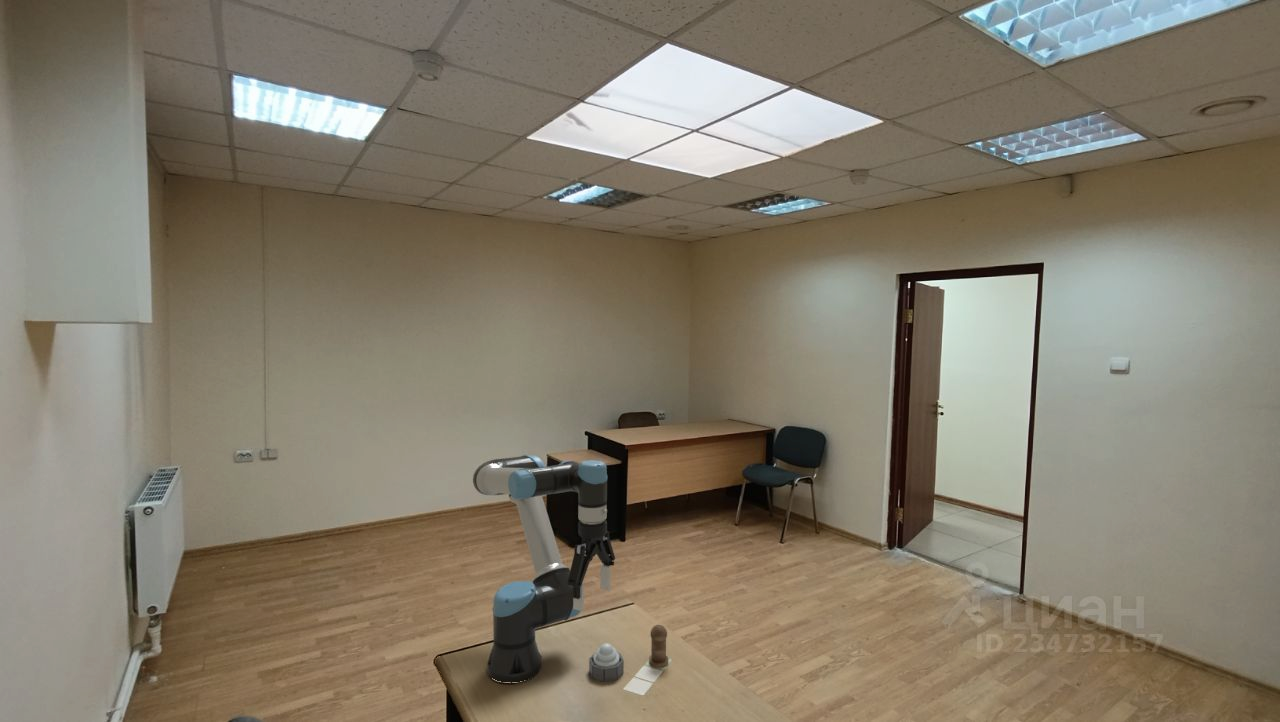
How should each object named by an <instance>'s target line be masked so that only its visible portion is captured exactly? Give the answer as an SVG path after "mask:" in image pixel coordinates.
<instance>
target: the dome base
mask: <svg viewBox="0 0 1280 722" xmlns="http://www.w3.org/2000/svg"><path fill="white" fill-rule="evenodd" d="M616 652H617V651H616ZM617 653H618V654H619V663H618V664H617V665H616V666H612V667H607V668H603V667H600V666H596V665H594V654H595V653H593V654H592V655H591V656H590V657H589V659H588V660H589V661H588V662H589V663H588V664H589V666H588V667H589V668H588V669H589V670H588V671H589V674H590V676H591V678H592V679H594V680H596V681H599V682H603V683H604V682H605V683H606V682H612V681H617V680H619V678H621V676H622V675H623V674H624V671H625V670H624V669H625V668H624V664H625V662H624V661H625V659H624V658H623V655H622V654H621V652H617Z"/></svg>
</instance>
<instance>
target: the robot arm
mask: <svg viewBox="0 0 1280 722" xmlns="http://www.w3.org/2000/svg"><path fill="white" fill-rule="evenodd" d="M607 469H608V467H607V464H606V463H605V462H604V461H602V460H595V459H590V460H583V461H581V462H578V461H575V460H570V459H569V460H568V459H567V460H563V461H561V462H559V464H555V465H550V466H549V465H548V466H546V465H545V464H544V462H543V460H542V459H541V458H540V457H539V456H538V455H537V456H536V455H525V454H523V455H521V456H514V457H505V458H503V457H502V458H495V459H490V460H488V461H486V462H483V463H482V464H481V465H479V466H478V467H477V468H476V469H475V471H474V473H473V477H472V484H473V487H474V488H475V490H476V491H477V492H478V493H480V494H482V495H484V496H502V495H508V497H509V500H510V503H513V504H515V505H516V509H517V512H518V515H519V519H520V523H521V526H522V530H523V533H524V537H525V539H526V544H527V547H528V552H529V555H530V558H531V563H532V566H533V569H534V574H535V576H534V577H533V579H532V581H529V580H517V581H511V582H509V583H507V584H505V585H502V586H501V587H500V588H499V589H498V590H497V591H496V592H495V594H494V597H493V605H492V606H493V607H492V614H493V618H492V619H493V623H492V626H493V627H492V629H493V630H492V631H493V645H492V647H491V651H490V653H489V657H488V660H487V665H486V666H487V667H486V670H487V672H488V674H489V676H490V677H491V678H493V679H495V680H497V681H501V682H511V683H512V682H520V681H524V680H527V681H529V680H531V679H533V678H534V677H536V676H537V675H538V674H539V673H540V671H541V669H542V656H541V653H540V652H539V649H538V644H537V640H536V630H537V629H538V628H542V627H546V626H549V625H552V624H556V623H560V622H562V621H563V622H564V621H567V620H569V619H571V618H574V617H576V616H578V615H579V614H580V613H581V612H583V611H585V608H584V607H585V585H584V584H583V582H584V579H585V577H586V573H587V571H588V568H589V564H590V562H592V561H593V560H594V557H595V556H596V555H597V557H598V559H599V560H600V561H601V564H600V581H599V582H600V589H601V590H606V591H610V590H611V566H612V567H613V566H614V565H615V560H616V556H615V553H614V549H613V545H612V543H611V539H610V538H611V537H610V531H608V522H607V520H606V519H607V516H608V515H607V513H608V509H607V507H608V506H607V504H608V503H607V501H608V474H607V472H608V471H607ZM566 492H575V493H577V494H578V503H577V504H578V509H577V510H578V511H577V513H578V514H577V515H578V517H577V518H578V520H579V521H578V523H577V526H578V531H577V533H578V535H579V536H580V537H581V544H575V545H574V550H573V551H574V554H573V558H572V562H571V567H569V566H567V565H565V564H563V560H562V557H561V554H560V550H559V547H558V544H557V541H556V537H555V534H554V530H553V528H552V525H551V522H550V517H549V514H548V511H547V507H546V505H545V504H546V503H545V501H544V498H543V496H546V495H554V494H560V493H566ZM487 672H486V673H487ZM488 674H487V675H488ZM535 675H536V676H535ZM489 676H488V677H489ZM532 677H533V678H532ZM530 678H531V679H530ZM528 679H529V680H528ZM524 682H525V681H524Z"/></svg>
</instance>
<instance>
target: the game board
mask: <svg viewBox="0 0 1280 722" xmlns="http://www.w3.org/2000/svg"><path fill="white" fill-rule="evenodd" d="M672 661H673V659H671V658H669V657H668V665H667V666H665V667H662V668H656V667H653V666H651V665H650V664H649V659H648V660H647V662H645V664H644V665H643V666H642V667H641V668H640V669H639V670H638V671H637V672H636V674H635V675H634V677H633V678H632V679H630V681H629V682H628V683H626V685H625V686H624V688H622V690H623V691H624V690H625V691H627V692H630V693H633V694H635V695H640V696H644V695H645V694H646V693H647V692H648V690H650V688H651V687H652V686H653V685H654V683H656V681H657V680H658V678H659V677H660V675H662V673H663V672H664V671H665V669H666V668H667V667H668V666H669V665H670V663H671V662H672Z"/></svg>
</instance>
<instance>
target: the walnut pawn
mask: <svg viewBox="0 0 1280 722" xmlns="http://www.w3.org/2000/svg"><path fill="white" fill-rule="evenodd" d="M667 637H668V632H667V629H666V627H665V626H664V625H662V624H656V625H654V626H652V628H651V630H650V638H651V644H650V645H651V655H650V656H648V660H649V664H650V665H651V666H653V667H652V668H654V667H656V668H655V669H658V668H662V667H665V666H667V665H668V666H669V664H668V658H669V657H668V656H667ZM651 666H650V667H651ZM668 666H667V667H668Z"/></svg>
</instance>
